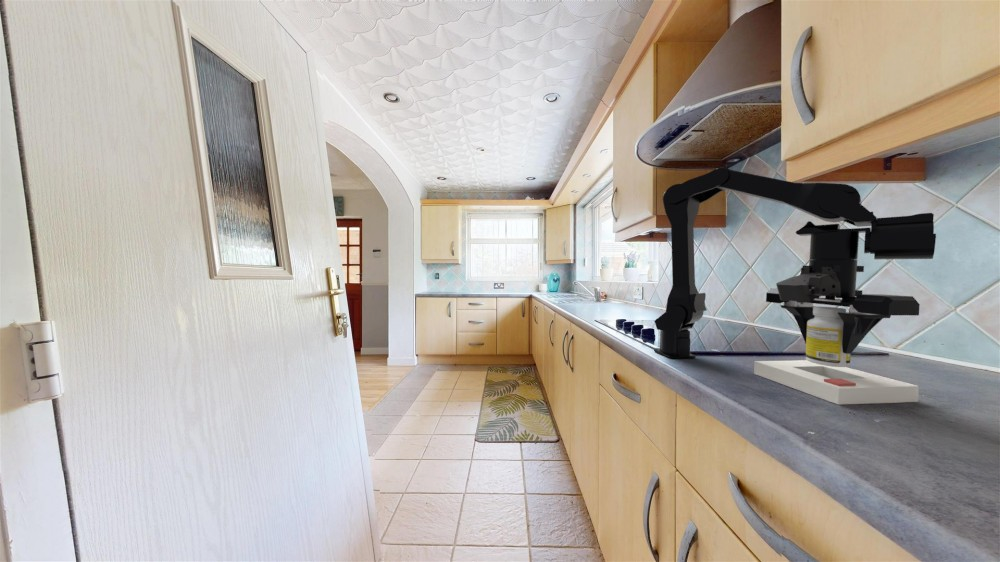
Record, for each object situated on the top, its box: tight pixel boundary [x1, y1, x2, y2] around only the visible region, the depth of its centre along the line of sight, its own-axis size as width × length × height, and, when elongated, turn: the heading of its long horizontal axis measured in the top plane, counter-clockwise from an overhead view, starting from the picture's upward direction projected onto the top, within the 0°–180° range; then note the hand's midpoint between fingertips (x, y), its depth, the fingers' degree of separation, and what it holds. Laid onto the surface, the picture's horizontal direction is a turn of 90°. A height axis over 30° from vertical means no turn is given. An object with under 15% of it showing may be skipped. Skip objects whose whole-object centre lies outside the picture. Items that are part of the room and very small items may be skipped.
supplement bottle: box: [805, 306, 852, 368], centre depth 55 cm, size 5×5×10 cm
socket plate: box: [753, 359, 920, 406], centre depth 55 cm, size 14×14×3 cm
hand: (827, 348), depth 55 cm, fingers closed on supplement bottle, 5 cm apart
